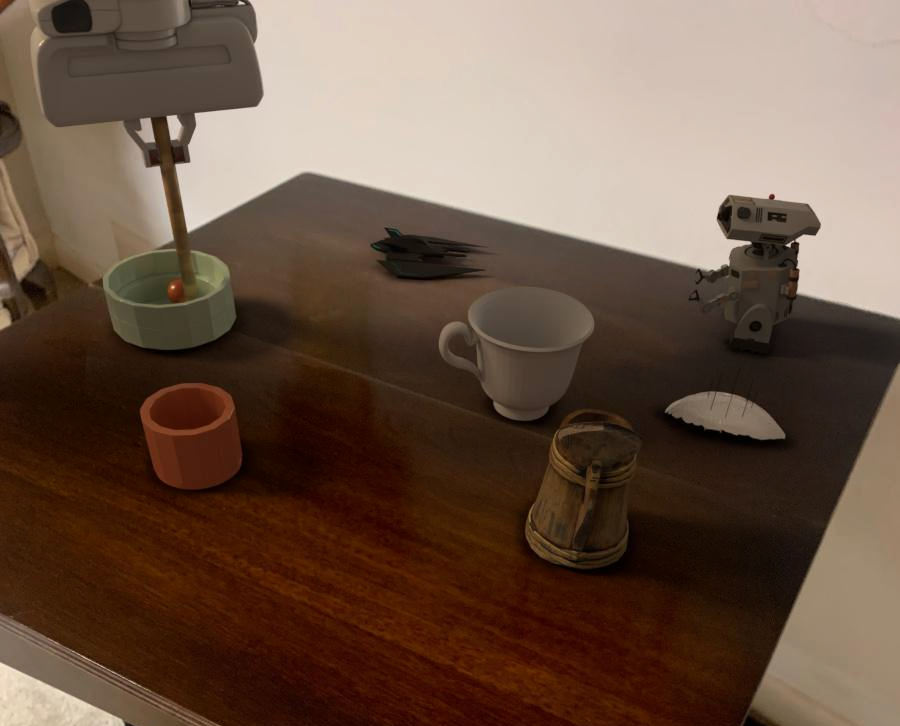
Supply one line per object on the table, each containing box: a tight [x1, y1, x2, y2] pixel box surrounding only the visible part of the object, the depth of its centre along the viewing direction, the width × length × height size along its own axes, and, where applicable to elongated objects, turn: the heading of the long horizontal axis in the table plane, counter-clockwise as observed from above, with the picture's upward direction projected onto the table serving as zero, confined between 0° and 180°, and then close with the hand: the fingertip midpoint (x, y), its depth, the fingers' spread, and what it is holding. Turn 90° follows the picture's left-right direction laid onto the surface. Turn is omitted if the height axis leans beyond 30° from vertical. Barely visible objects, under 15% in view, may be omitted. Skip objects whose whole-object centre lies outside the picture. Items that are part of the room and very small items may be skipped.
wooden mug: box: [524, 408, 644, 571], centre depth 69 cm, size 9×14×18 cm, turn 169°
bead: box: [168, 279, 188, 304], centre depth 100 cm, size 3×3×3 cm
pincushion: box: [664, 368, 786, 441], centre depth 88 cm, size 12×6×6 cm, turn 69°
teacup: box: [438, 285, 595, 422], centre depth 87 cm, size 12×15×10 cm
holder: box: [139, 382, 243, 491], centre depth 80 cm, size 8×8×6 cm
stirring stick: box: [149, 116, 199, 301], centre depth 90 cm, size 2×2×20 cm
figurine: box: [688, 193, 822, 355], centre depth 98 cm, size 9×12×15 cm
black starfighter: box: [370, 226, 490, 280], centre depth 112 cm, size 11×15×3 cm
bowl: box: [102, 248, 237, 351], centre depth 97 cm, size 13×13×6 cm
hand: (166, 163), depth 87 cm, fingers closed on stirring stick, 1 cm apart
